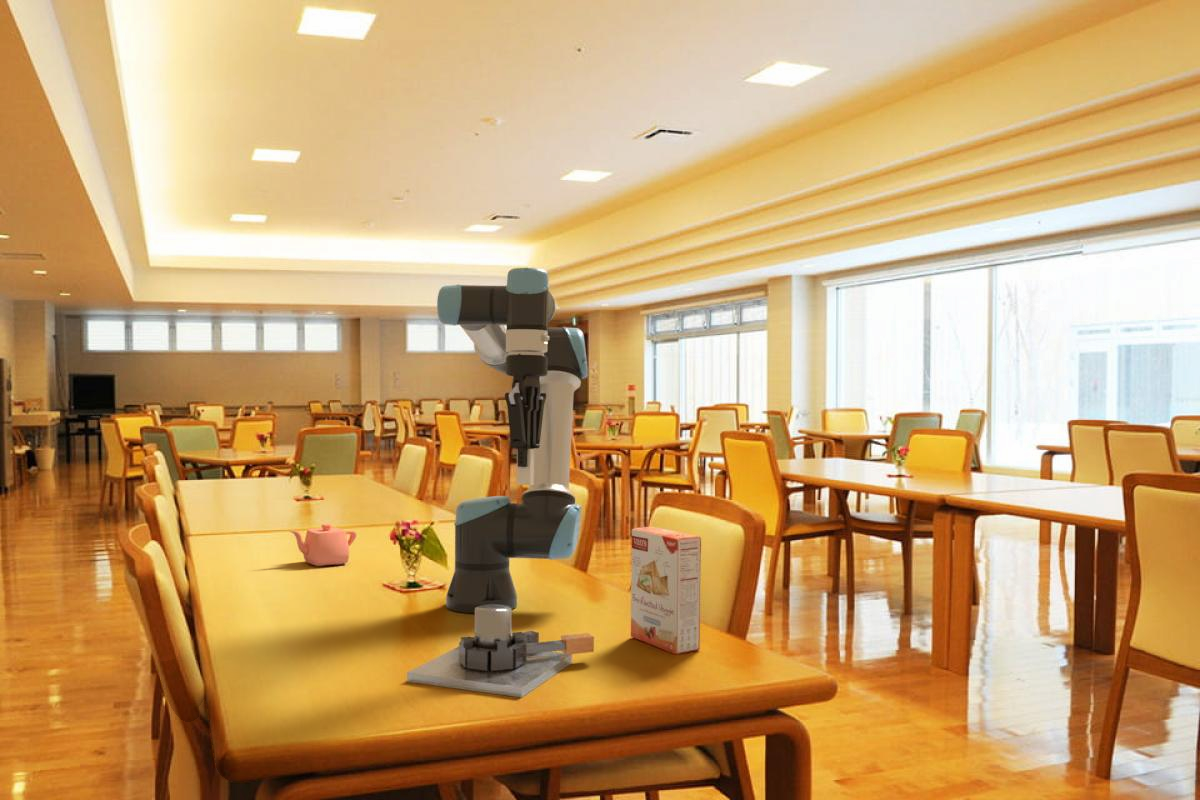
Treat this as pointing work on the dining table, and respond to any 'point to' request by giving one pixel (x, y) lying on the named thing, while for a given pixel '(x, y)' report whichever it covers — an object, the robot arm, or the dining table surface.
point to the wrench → (518, 650)
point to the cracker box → (666, 589)
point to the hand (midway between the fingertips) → (525, 484)
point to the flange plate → (510, 682)
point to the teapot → (325, 545)
